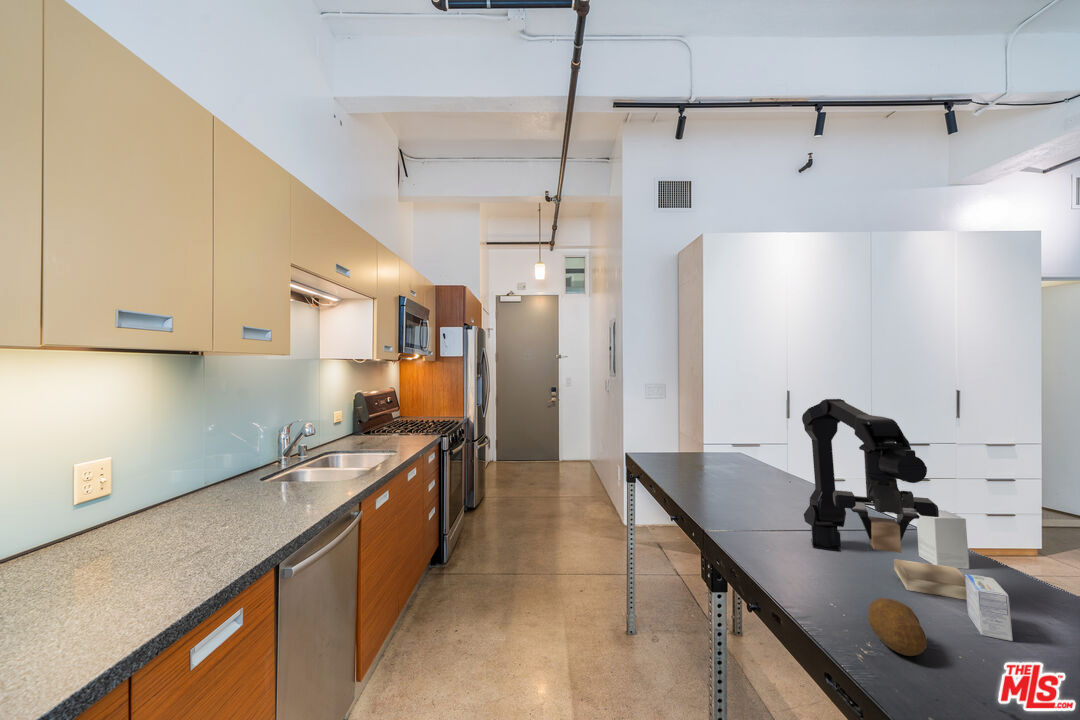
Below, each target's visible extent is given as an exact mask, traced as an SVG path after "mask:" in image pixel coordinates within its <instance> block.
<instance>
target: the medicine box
mask: <svg viewBox="0 0 1080 720" xmlns="http://www.w3.org/2000/svg"><path fill="white" fill-rule="evenodd" d="M964 576H965V583H966V595H967V600H966V607H967V609H966V610H967V615H968V617H969V619H970V620H971V621H972V623H973V625H974V626H975V628H976V629H977V630H978V632H979V634H980V635H981V636H984V637H989V638H993V639H998V640H1002V641H1003V640H1004V641H1009V642H1013V641H1014V640H1013V638H1014V637H1013V630H1012V619H1011V608H1010V596H1009V594H1008V593H1007V591H1005V590H1004V588H1002V586H1001V585H1000V584H999V583H998V582H997V581H996V579H994V577H993V578H992V577H989V576H988V577H987V576H982V575H978V574H977V575H976V574H965V575H964Z"/></svg>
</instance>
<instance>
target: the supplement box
mask: <svg viewBox="0 0 1080 720" xmlns="http://www.w3.org/2000/svg"><path fill="white" fill-rule="evenodd" d="M938 510H939V517H930V516H921V515H920V514H919V513H917V514H918V515H919V516H920V517H919V519H916V530H917V547H918V549H917V550H918V557H920V558H922V559H924V560H925V561H926V562H928V563H929V564H933V565H940V566H947V567H954V568H957V569H963V570H965V569H966V570H969V569H970V560H969V545H968V532H967V519H966V518H964V517H962V516H960V515H957V514H955V513H952V512H950V511H947V510H940V509H938Z"/></svg>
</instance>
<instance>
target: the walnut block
mask: <svg viewBox="0 0 1080 720" xmlns="http://www.w3.org/2000/svg"><path fill="white" fill-rule="evenodd" d="M868 519H869V524H870V529H871V539H869V538H868V540H869V544H870V546H871V547H872V548H873V550H878V551H885V552H891V553H892V552H893V553H902V541H901V539H900V526H899V524H898V523H897V520H896V519H895V518H889V517H888V518H887V517H886V518H885V517H877V516H869V515H868Z"/></svg>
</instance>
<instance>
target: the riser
mask: <svg viewBox="0 0 1080 720" xmlns="http://www.w3.org/2000/svg"><path fill="white" fill-rule="evenodd" d="M893 565H894V566H893V568H894V571H895V572H896V575H898V577H899V579H900V581H901V582H902V584H903V586H904V587H905V589H906V591H912V592H918V593H923V594H930V595H935V596H936V595H937V596H941V597H942V596H943V597H948V598H952V599H953V598H955V599H960V600H965V601H967V595H966V583H965V575H964V573H962V572H961V571H960V570H959V568H954V567H947V566H940V565H933V564H931V563H927V562H925V563H924V562H917V561H911V560H905V559H904V560H903V559H896V558H893Z"/></svg>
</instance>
